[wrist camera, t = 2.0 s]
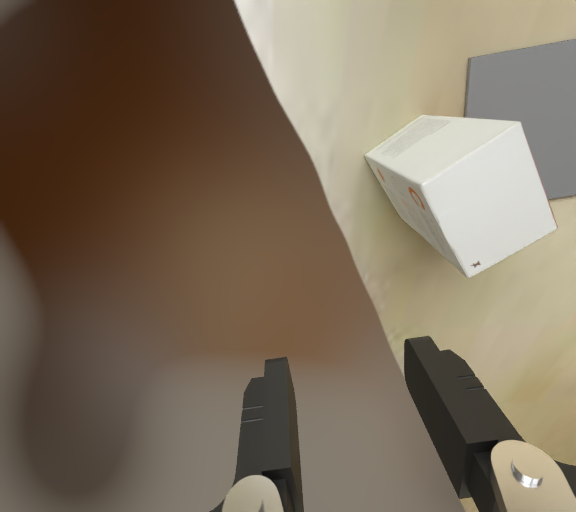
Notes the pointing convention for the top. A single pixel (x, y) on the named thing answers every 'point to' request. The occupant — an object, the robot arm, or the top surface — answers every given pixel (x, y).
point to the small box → (465, 187)
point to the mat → (532, 104)
